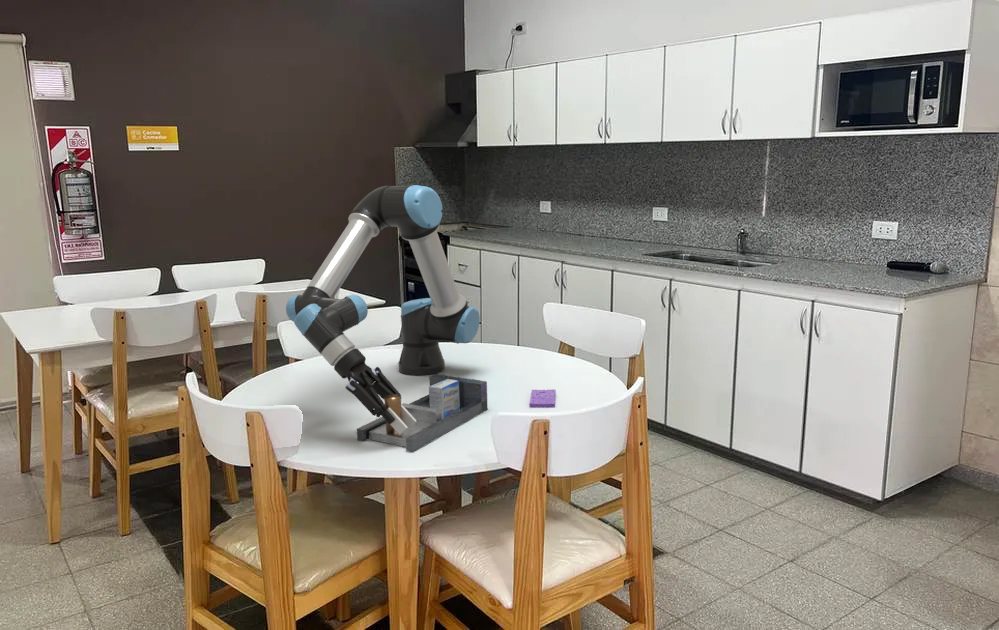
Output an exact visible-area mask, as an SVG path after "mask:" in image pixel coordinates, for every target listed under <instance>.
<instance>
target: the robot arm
mask: <svg viewBox="0 0 999 630" xmlns="http://www.w3.org/2000/svg"><path fill="white" fill-rule="evenodd" d="M442 211H443V204H442V200H441V198H440V196H439V194H438V193H437V192H436V191H435V190H434V189H433V188H431V187H429V186H426V185H425V186H424V185H419V184H418V185H417V184H413V185H384V186H380V187H377V188H376V189H373V190H372V191H371V192H369V193H368V194H367V195H365V196H364V197H363V198H362V199H361V200H360V201H359V203H357V205H356V206H355V207H354V208H353V210H352V211H351V212H350V214H349V216H348V218H347V219H348V224H347V226H345V229H344V230H343V232H342V233H341V235H340V236H339V238H337V241H336V242H335V244H334V245H333V247H332V249H331V250H330V251H329V253H328V254H327V256H326V257H325V259H324V261H323V262H322V264H321V266H319V268H318V269H317V272H316V273H315V274H314V275H313V278H312V279H311V280H310V281H309V283H308V285H307V287H306V288H305V289H304V290H303V293H302V294H298V295H297V294H295V295H293V296H291V297H290V298H289V299H288V300H287V302H286V305H285V312H286V316H287V317H288V320H290V321H291V322H293V324H294V325H295V328H296V329H298V331H299V333H300V334H301V335H302V336H303V337H304V338H305V339H306V340H307V341H308V342H309V344H310V345H312V346H313V348H314V349H315V350H317V352H318V353H319V354H320V355H321V356H322V357H323V358H324V360H325V361H327V363H328V364H329V365H330V366H331V367H333V369H334V371H335V372H336V373H337V374H338V375H339V377H340V378H342V379H347V380H348V383H347V385H346V386H345V390H347V391H348V392H350V393H351V394H352V395H354V396H355V398H356V399H357V400H358V401H359V402H360V403H361V404H362V405H363V406H364V407H365V408H366V409H367V411H369V413H371V415H372V416H375V417H376V418H380V417H383V418H384V419H385V420H386V421H387V422H388V423H389V424H390V425H391V426H392V427H393V428H394V429H395V430H396V431H397V433H398V434H399V435H401V434H402V433H403V432H404V431H405V430H406V429H407V428H410V427H411V426H412V425H413V424H414V423H415V422H416V419H415V418H414V417H413V416H412V415H411V414H410V413H409V412H408V411H407V409H406V408H405V407H404V406H403V405H402V404H403V403H401V408H402V420H401V419H400V418H399V417H398V416H397V415H396V414H395V412H394V411H393V410H392V409H391V408H390V407H389V408H388V409H387V407H386V405H385V402H384V401H383V400H384V397H385V396H387V395H391V394H397V395H400V396H401V397H402V394H401V393H400V392H399V391H398V389H397V388H395V386H394V385H393V384H392V382H391V381H390V380H389V379H388V378H387V377H386V376H385V375H384V374H383V372H382V370H381V369H380V367H378V366H376V367H375V368H371V366H369V365H367V364H366V361H367V360H366V356H365V355H364V354H363V353H362V352H361V351H360V349H358V348H355V347H356V345H355V344H354V343H353V342H352V341H351V339H349V338H348V337H347V335H346V334H345V333H344V332H346V331H348V330H349V329H351V328H353V327H355V326H359V325H360V323H361V322H363V321H364V320H366V318H367V317H368V313H369V311H368V305H367V302H366V301H365V300H364V299H363V298H362V297H361V296H360V295H358V294H351V295H346V296H344V298H335V296H336V295H337V293H338V292H339V290H341V287H342V285H343V283H344V282H345V281H346V279H347V278H348V276H349V274H350V273H351V272H352V270H353V268H354V266H355V265H356V263H357V262H358V260H359V259H360V257H361V256H362V254H363V252H364V251H365V249H366V247H367V246H368V245H369V243H370V241H371V239H373V238H375V237H377V236H378V235H379V234H380V232H381V231H382V230H383V229H384V228H387V227H391V228H392V227H393V228H395V227H396V228H398V232H399V234H400V237H401V238H402V239H403V240H405V241H408V243H409V245H410V249H412V250H411V251H412V253H413V257H414V259H415V261H416V264H417V266H418V269H419V272H420V274H421V277H422V279H423V283H424V285H425V288H426V289H427V293H428V295H429V297H425V298H424V297H423V298H418V299H411V300H409V301H406V302H403V303H402V304H401V307H400V323H401V336H402V349H401V354H400V358H399V360H398V372H399V373H401V374H404V375H410V376H425V375H434V374H438V373H440V372H442V371H444V370H445V368H446V364H445V359H444V356H443V354H442V351H441V348H440V344H439V342H446V343H453V344H468V343H471V342H472V341H473V340H474V339H475V337H476V335H477V334H478V331H479V327H480V319H481V318H480V313H479V312H480V311H478V309H477V308H476V307H474V306H469V305H468V302H467V298H466V297H465V296H464V295H463V294H460V293H459V291H458V289H457V288H458V287H457V285H456V283H455V280H454V277H453V274H452V271H451V268H450V266H449V265H450V264H449V262H448V259H447V256H446V254H445V251H444V248H443V245H442V242H441V239H440V236H439V234H438V229H440V228H439V227H440V223H441V221H442V217H443V212H442Z"/></svg>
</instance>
